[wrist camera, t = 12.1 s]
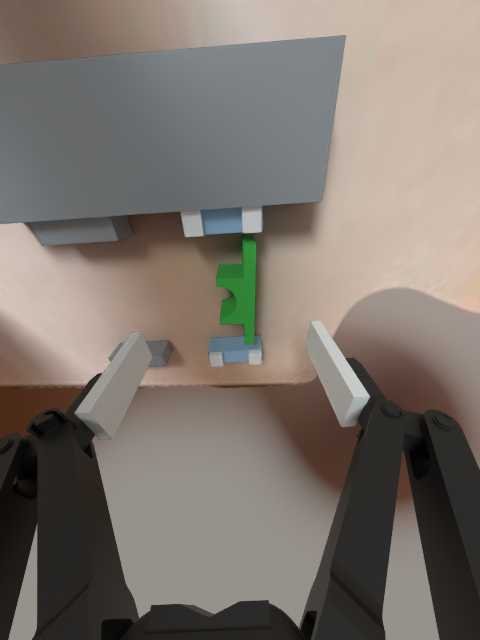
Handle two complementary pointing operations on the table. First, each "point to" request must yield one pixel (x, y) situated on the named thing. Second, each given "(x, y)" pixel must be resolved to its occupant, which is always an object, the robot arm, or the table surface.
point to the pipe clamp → (240, 290)
